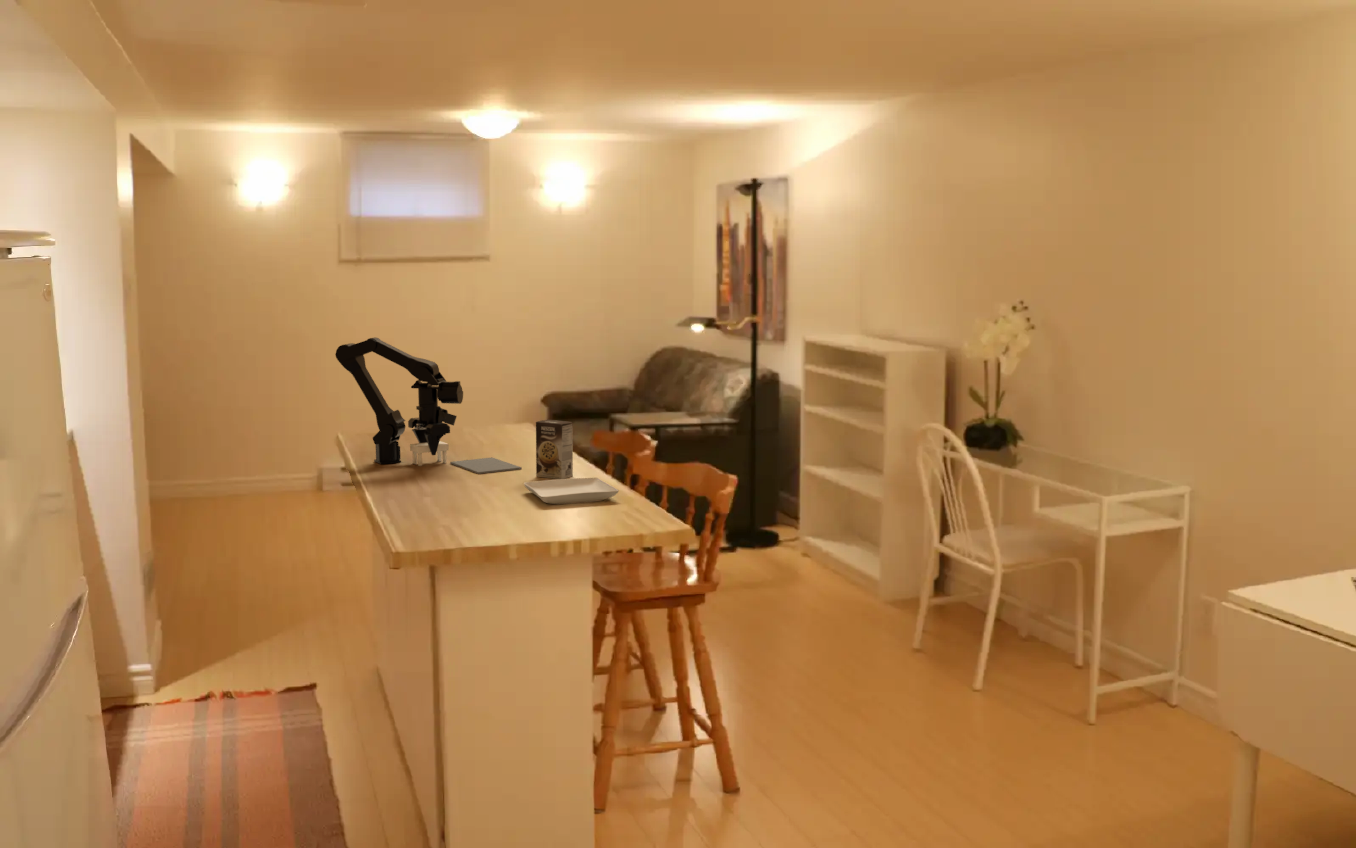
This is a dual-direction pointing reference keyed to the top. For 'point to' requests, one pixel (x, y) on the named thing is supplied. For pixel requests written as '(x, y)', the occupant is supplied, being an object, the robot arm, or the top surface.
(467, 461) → the mat
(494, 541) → the top surface
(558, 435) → the coffee box
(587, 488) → the salad plate
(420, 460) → the footstool
